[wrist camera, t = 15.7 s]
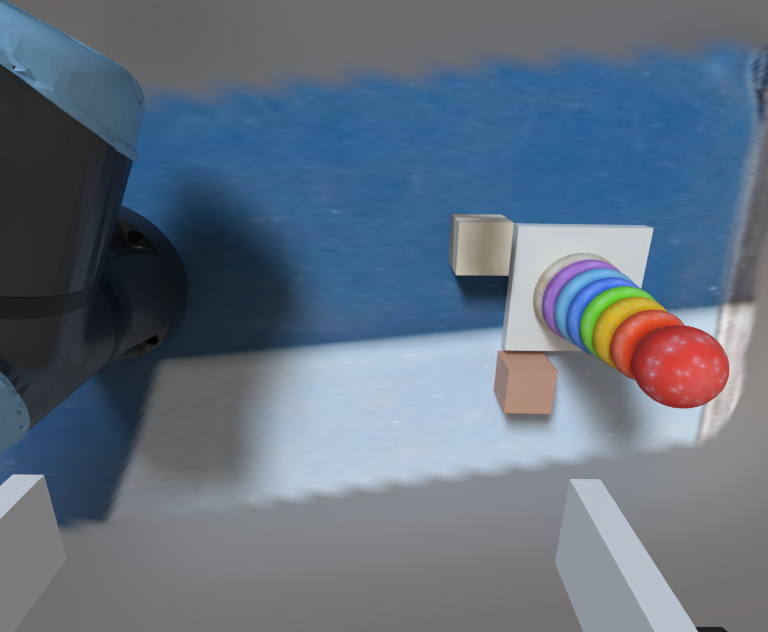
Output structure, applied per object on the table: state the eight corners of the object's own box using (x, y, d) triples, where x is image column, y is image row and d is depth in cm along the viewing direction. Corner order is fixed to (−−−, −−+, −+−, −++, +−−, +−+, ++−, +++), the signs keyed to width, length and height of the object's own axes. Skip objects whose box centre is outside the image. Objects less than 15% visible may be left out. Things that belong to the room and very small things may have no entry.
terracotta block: (493, 390, 51) (503, 413, 46) (497, 350, 49) (508, 370, 45) (536, 390, 51) (551, 413, 46) (542, 351, 49) (557, 371, 45)
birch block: (448, 262, 46) (455, 275, 42) (451, 214, 44) (459, 222, 40) (496, 262, 46) (508, 275, 42) (501, 214, 44) (513, 222, 40)
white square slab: (501, 344, 49) (504, 350, 47) (514, 223, 45) (518, 226, 43) (620, 345, 49) (628, 351, 47) (644, 225, 45) (653, 228, 43)
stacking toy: (600, 338, 47) (733, 459, 29) (520, 324, 46) (607, 439, 29) (629, 259, 44) (794, 339, 27) (544, 243, 44) (656, 314, 26)
